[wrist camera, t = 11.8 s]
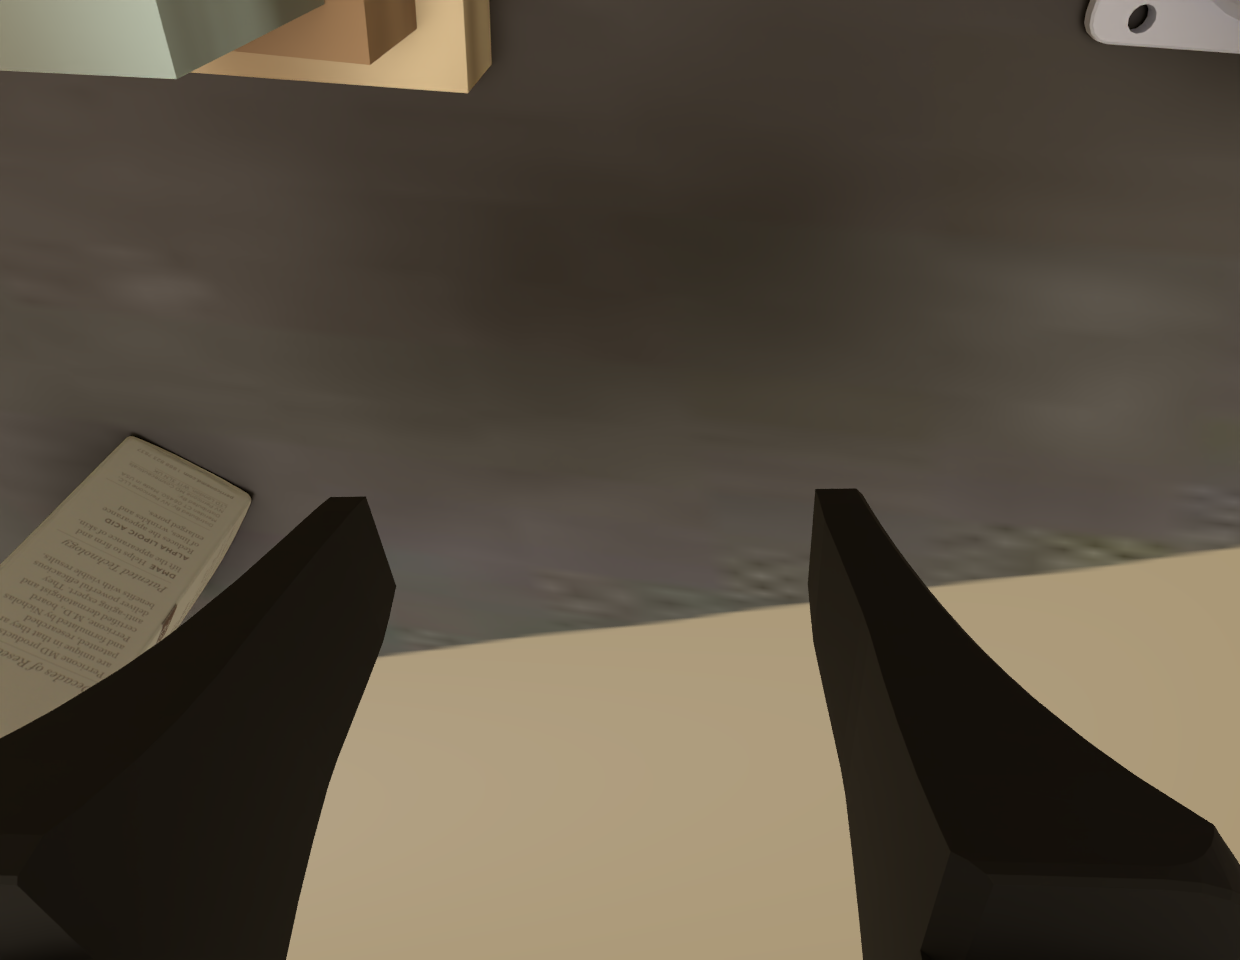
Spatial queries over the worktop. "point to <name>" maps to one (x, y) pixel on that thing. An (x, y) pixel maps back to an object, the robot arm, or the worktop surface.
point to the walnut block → (341, 31)
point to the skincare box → (108, 575)
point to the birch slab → (394, 55)
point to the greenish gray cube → (134, 33)
